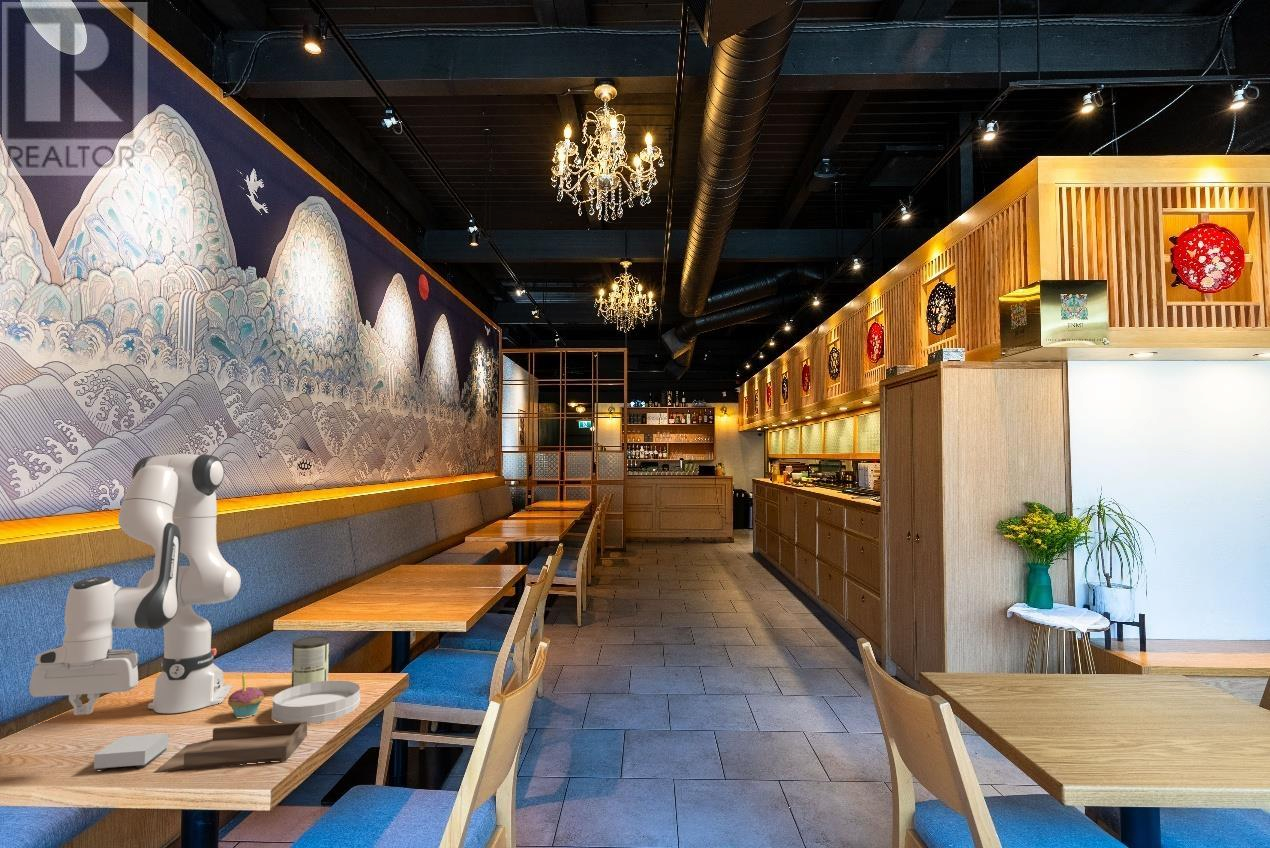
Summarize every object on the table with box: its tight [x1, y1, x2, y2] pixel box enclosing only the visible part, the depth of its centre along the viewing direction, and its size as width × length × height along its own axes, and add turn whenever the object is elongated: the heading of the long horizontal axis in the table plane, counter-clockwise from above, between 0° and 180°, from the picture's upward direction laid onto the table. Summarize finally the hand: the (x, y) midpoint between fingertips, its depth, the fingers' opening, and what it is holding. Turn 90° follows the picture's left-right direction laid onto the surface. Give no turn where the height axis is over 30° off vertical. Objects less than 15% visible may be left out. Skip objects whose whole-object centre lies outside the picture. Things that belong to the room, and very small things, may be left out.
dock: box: [153, 721, 308, 773], centre depth 154 cm, size 15×27×4 cm, turn 100°
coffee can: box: [291, 635, 330, 687], centre depth 202 cm, size 10×10×14 cm
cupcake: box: [227, 671, 265, 718], centre depth 179 cm, size 9×8×12 cm
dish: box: [271, 680, 361, 724], centre depth 182 cm, size 22×22×5 cm
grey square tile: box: [93, 732, 170, 772], centre depth 150 cm, size 10×10×4 cm
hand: (83, 713), depth 149 cm, fingers closed
